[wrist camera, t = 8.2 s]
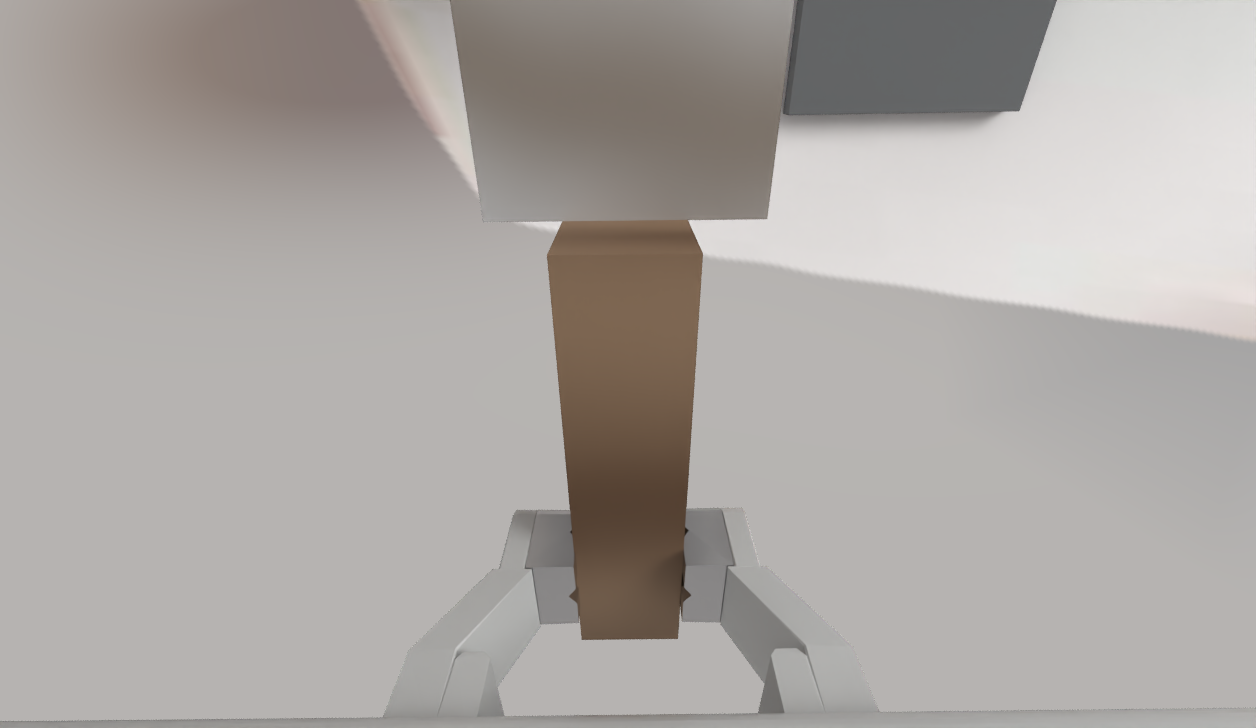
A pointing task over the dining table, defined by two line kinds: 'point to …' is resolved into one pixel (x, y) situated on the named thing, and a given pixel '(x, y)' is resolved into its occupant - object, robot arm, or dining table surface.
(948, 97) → the tool mat
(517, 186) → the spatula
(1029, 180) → the dining table surface
